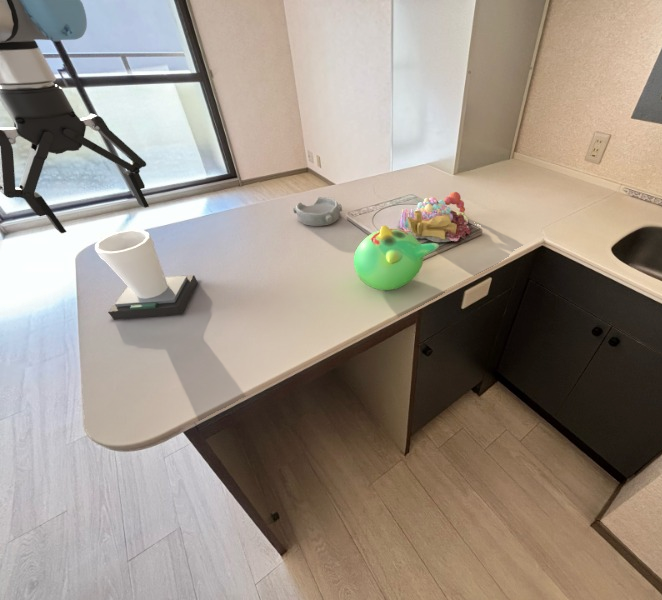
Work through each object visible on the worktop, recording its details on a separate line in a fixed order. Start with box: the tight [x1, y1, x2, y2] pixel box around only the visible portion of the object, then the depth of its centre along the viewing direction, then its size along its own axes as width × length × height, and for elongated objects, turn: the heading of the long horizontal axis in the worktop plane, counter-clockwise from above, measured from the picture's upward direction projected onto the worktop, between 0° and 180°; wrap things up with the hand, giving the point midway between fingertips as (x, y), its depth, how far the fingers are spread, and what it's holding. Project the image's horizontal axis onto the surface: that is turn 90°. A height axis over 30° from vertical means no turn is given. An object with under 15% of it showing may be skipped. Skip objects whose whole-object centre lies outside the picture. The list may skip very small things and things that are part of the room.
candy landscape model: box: [399, 191, 472, 243], centre depth 107 cm, size 25×24×9 cm
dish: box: [292, 196, 343, 227], centre depth 110 cm, size 14×14×5 cm
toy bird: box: [353, 224, 440, 291], centre depth 81 cm, size 18×17×15 cm
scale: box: [107, 274, 198, 321], centre depth 76 cm, size 14×12×3 cm
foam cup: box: [94, 229, 168, 299], centre depth 71 cm, size 10×9×13 cm
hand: (105, 217), depth 62 cm, fingers open, 13 cm apart
